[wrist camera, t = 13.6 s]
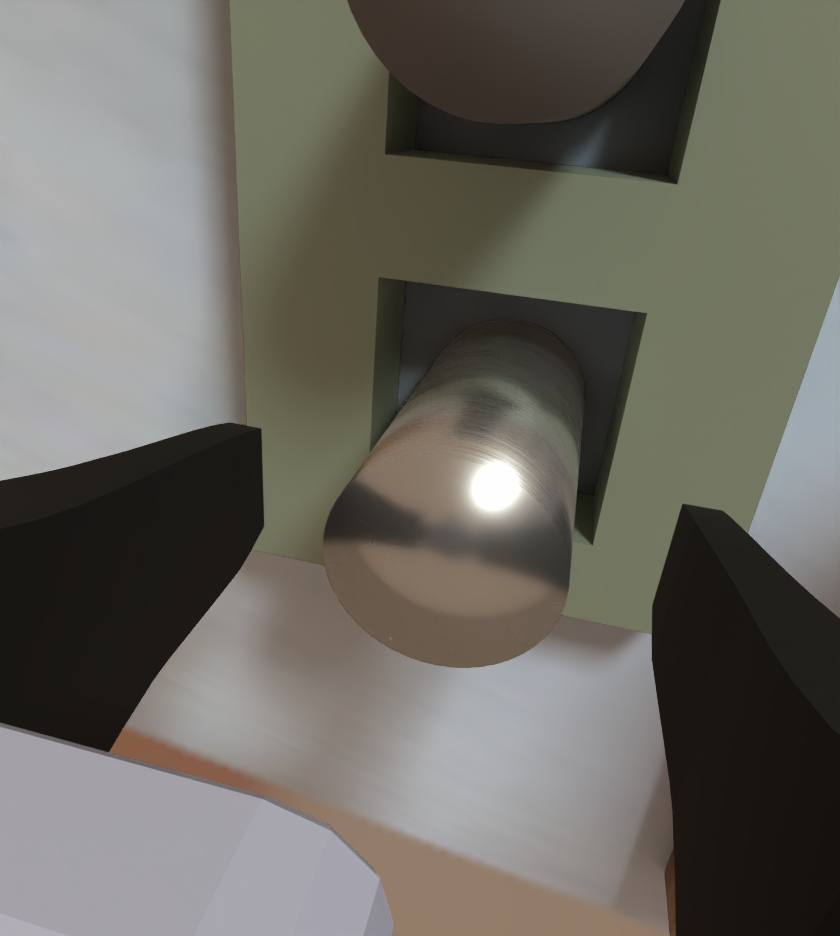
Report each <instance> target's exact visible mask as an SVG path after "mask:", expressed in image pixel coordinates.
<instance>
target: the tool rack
mask: <svg viewBox="0 0 840 936" xmlns="http://www.w3.org/2000/svg"><path fill="white" fill-rule="evenodd" d="M684 1H685V0H229V4H230V29H231V54H232V78H233V103H234V127H235V152H236V177H237V201H238V226H239V250H240V275H241V299H242V324H243V349H244V373H245V398H246V422H247V426H251V427H257V428H261V430H262V464H263V497H264V528H263V530H262V532H261V534H260V535H259V537H258V539H257V541H256V543H255V545H254V546H253V548H252V550H255V551H260V552H264V553H269V554H274V555H279V556H283V557H288V558H293V559H298V560H302V561H307V562H312V563H316V564H321V565H325V564H324V556H323V536H324V530H325V525H326V522H327V519H328V516H329V513H330V511H331V509H332V507H333V505H334V504H335V502H336V500H337V498H338V497H339V496H340V494H341V493H342V491H343V490H344V489H345V487H346V486H347V484H348V483H349V482H350V480H351V479H352V477H353V476H354V475H355V473H356V472H357V470H358V469H359V468H360V466H361V465H362V463H363V462H364V461H365V459H366V458H367V456H368V455H369V454H370V452H371V451H372V449H373V448H374V447H375V445H376V444H377V442H378V441H379V440H380V438H381V437H382V435H383V434H384V433H385V431H386V430H387V428H388V427H389V426H390V424H391V423H392V421H393V420H394V419H395V417H396V414H397V400H398V385H399V371H400V356H401V342H402V327H403V313H404V298H405V284H406V281H411V282H419V283H426V284H434V285H441V286H449V287H456V288H463V289H471V290H478V291H486V292H493V293H500V294H508V295H515V296H523V297H530V298H538V299H545V300H552V301H560V302H567V303H575V304H582V305H590V306H597V307H604V308H612V309H619V310H627V311H634V312H636V313H635V317H634V322H633V326H632V331H631V335H630V339H629V344H628V348H627V353H626V357H625V361H624V366H623V370H622V375H621V379H620V384H619V388H618V392H617V397H616V401H615V406H614V410H613V414H612V419H611V423H610V428H609V432H608V436H607V441H606V445H605V450H604V454H603V458H602V463H601V467H600V472H599V476H598V481H597V485H596V489H595V494H594V496H591V495H585V494H580V493H577V498H576V510H575V522H574V534H573V546H572V557H571V569H570V581H569V592H568V596H567V600H566V604H565V606H564V609H563V611H562V613H561V615H563V616H568V617H573V618H578V619H582V620H587V621H592V622H597V623H601V624H606V625H611V626H615V627H620V628H625V629H630V630H634V631H639V632H644V633H649V634H652V604H653V601H654V598H655V594H656V591H657V587H658V584H659V581H660V577H661V574H662V571H663V567H664V564H665V561H666V557H667V554H668V550H669V547H670V544H671V540H672V537H673V534H674V530H675V527H676V524H677V520H678V517H679V513H680V510H681V507H682V503H683V504H688V505H694V506H700V507H705V508H711V509H717V510H722V511H724V512H725V513H726V514H728V515H729V516H730V517H731V518H732V519H733V520H734V521H735V522H736V523H737V524H739V525H740V526H741V527H742V528H743V529H744V530H745V531H746V532H747V533H748V531H749V529H750V526H751V523H752V520H753V517H754V514H755V512H756V509H757V506H758V503H759V500H760V498H761V495H762V492H763V489H764V486H765V484H766V481H767V478H768V475H769V472H770V470H771V467H772V464H773V461H774V458H775V456H776V453H777V450H778V447H779V444H780V442H781V439H782V436H783V433H784V430H785V428H786V425H787V422H788V419H789V416H790V414H791V411H792V408H793V405H794V402H795V399H796V397H797V394H798V391H799V388H800V385H801V383H802V380H803V377H804V374H805V371H806V369H807V366H808V363H809V360H810V357H811V355H812V352H813V349H814V346H815V343H816V341H817V338H818V335H819V332H820V329H821V327H822V324H823V321H824V318H825V315H826V313H827V310H828V307H829V304H830V301H831V299H832V296H833V293H834V290H835V287H836V285H837V282H838V279H839V276H840V0H706V4H705V9H704V13H703V18H702V22H701V26H700V31H699V35H698V40H697V44H696V48H695V53H694V57H693V62H692V66H691V70H690V75H689V79H688V84H687V88H686V93H685V97H684V101H683V106H682V110H681V115H680V119H679V123H678V128H677V132H676V137H675V141H674V145H673V150H672V154H671V159H670V163H669V167H668V172H667V175H660V174H650V173H640V172H630V171H621V170H611V169H601V168H591V167H581V166H571V165H561V164H552V163H542V162H532V161H522V160H512V159H502V158H492V157H483V156H473V155H463V154H453V153H443V152H433V151H423V150H415V139H416V125H417V110H418V97H419V98H421V99H422V100H424V101H425V102H427V103H428V104H430V105H432V106H434V107H436V108H438V109H440V110H442V111H444V112H446V113H449V114H452V115H455V116H458V117H461V118H464V119H467V120H472V121H478V122H484V123H490V124H523V123H546V122H560V121H568V120H571V119H575V118H579V117H581V116H584V115H586V114H589V113H591V112H593V111H595V110H596V109H598V108H600V107H602V106H603V105H605V104H606V103H607V102H609V101H610V100H611V99H613V98H614V97H615V96H616V95H617V94H618V93H619V92H620V91H621V90H622V89H624V88H625V87H626V85H627V84H628V83H629V82H630V81H631V79H632V78H633V77H634V76H635V74H636V73H637V71H638V70H639V69H640V67H641V66H642V64H643V63H644V61H645V60H646V59H647V57H648V56H649V54H650V53H651V51H652V50H653V49H654V47H655V46H656V44H657V43H658V41H659V40H660V39H661V37H662V36H663V34H664V33H665V31H666V30H667V28H668V27H669V25H670V24H671V22H672V21H673V19H674V18H675V16H676V15H677V13H678V12H679V10H680V9H681V7H682V5H683V3H684Z"/></svg>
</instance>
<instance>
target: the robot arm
mask: <svg viewBox="0 0 840 936" xmlns="http://www.w3.org/2000/svg"><path fill="white" fill-rule="evenodd" d="M263 528H264V497H263V464H262V430H261V428H257V427H251V426H246V425H240V424H234V423H224V424H218V425H213V426H209V427H205V428H202V429H198V430H194V431H191V432H187V433H184V434H181V435H177V436H174V437H171V438H168V439H164V440H161V441H158V442H155V443H151V444H148V445H145V446H141V447H138V448H135V449H132V450H128V451H125V452H121V453H118V454H114V455H110V456H107V457H103V458H99V459H96V460H92V461H88V462H85V463H81V464H77V465H74V466H70V467H66V468H61V469H57V470H53V471H48V472H44V473H39V474H34V475H29V476H23V477H18V478H13V479H8V480H2V481H0V936H393V931H394V923H393V920H392V916H391V913H390V910H389V907H388V903H387V900H386V896H385V893H384V890H383V887H382V883H381V880H380V877H379V876H378V874H377V873H376V871H375V870H374V868H373V867H372V865H371V864H370V863H368V862H367V861H366V860H365V859H364V858H363V857H362V856H361V855H360V854H359V853H358V852H357V851H356V850H355V849H354V848H353V847H352V846H351V845H350V844H349V843H348V842H347V841H346V840H345V839H344V838H343V837H342V836H341V835H340V834H339V833H338V832H337V831H336V830H335V829H334V828H333V827H332V826H331V825H329V824H328V823H326V822H323V821H321V820H319V819H317V818H315V817H313V816H310V815H308V814H306V813H304V812H302V811H300V810H297V809H295V808H293V807H291V806H289V805H286V804H284V803H282V802H280V801H278V800H276V799H273V798H271V797H269V796H266V795H262V794H259V793H254V792H251V791H248V790H244V789H240V788H237V787H233V786H229V785H226V784H222V783H218V782H215V781H211V780H208V779H204V778H200V777H197V776H193V775H189V774H185V773H182V772H178V771H175V770H171V769H167V768H164V767H160V766H156V765H153V764H149V763H146V762H142V761H138V760H134V759H131V758H127V757H124V756H120V755H116V754H113V753H109V751H110V749H111V748H112V746H113V744H114V743H115V741H116V739H117V737H118V736H119V734H120V732H121V731H122V729H123V727H124V726H125V724H126V723H127V721H128V719H129V718H130V716H131V715H132V713H133V712H134V710H135V708H136V707H137V705H138V704H139V702H140V700H141V699H142V697H143V696H144V694H145V693H146V691H147V689H148V688H149V686H150V685H151V683H152V682H153V680H154V679H155V677H156V676H157V674H158V673H159V672H160V670H161V669H162V668H163V666H164V665H165V664H166V662H167V661H168V659H169V658H170V657H171V656H172V654H173V653H174V652H175V651H176V649H177V648H178V647H179V646H180V644H181V643H182V642H183V641H184V639H185V638H186V637H187V636H188V634H189V633H190V632H191V631H192V629H193V628H194V627H195V626H196V624H197V623H198V622H199V621H200V619H201V618H202V617H203V616H204V614H205V613H206V612H207V611H208V610H209V608H210V607H211V606H212V605H213V603H214V602H215V601H216V600H217V598H218V597H219V596H220V594H221V593H222V592H223V591H224V589H225V588H226V587H227V586H228V584H229V583H230V582H231V580H232V579H233V578H234V576H235V575H236V574H237V573H238V571H239V570H240V569H241V567H242V565H243V563H244V562H245V560H246V558H247V557H248V555H249V553H250V552H251V550H252V548H253V546H254V545H255V543H256V541H257V539H258V537H259V535H260V534H261V532H262V530H263ZM652 662H653V670H654V677H655V684H656V691H657V698H658V705H659V712H660V719H661V726H662V733H663V739H664V746H665V753H666V760H667V767H668V773H669V780H670V790H671V800H672V811H673V839H674V869H675V922H676V936H840V618H838V617H837V616H836V615H835V614H834V613H832V612H831V611H830V610H829V609H828V608H827V607H825V606H824V605H823V604H822V603H821V602H819V601H818V600H817V599H816V598H815V597H814V596H813V595H811V594H810V593H809V592H808V591H807V590H806V589H805V588H804V587H803V586H802V585H800V584H799V583H798V582H797V581H796V580H795V579H794V578H793V577H792V576H791V575H790V574H789V573H788V572H787V571H785V570H784V569H783V568H782V567H781V566H780V565H779V564H778V563H777V562H776V561H775V560H774V559H773V558H772V557H771V556H770V555H769V554H768V553H767V552H766V551H765V550H764V549H763V548H762V547H761V546H760V545H759V544H758V543H757V542H756V541H755V540H754V539H753V538H752V537H751V536H750V535H749V534H748V533H747V532H746V531H745V530H744V529H743V528H742V527H741V526H740V525H739V524H737V523H736V522H735V521H734V520H733V519H732V518H731V517H730V516H729V515H728V514H726V513H725V512H724V511H722V510H717V509H711V508H705V507H700V506H694V505H688V504H683V503H682V507H681V510H680V513H679V517H678V520H677V524H676V527H675V530H674V534H673V537H672V540H671V544H670V547H669V550H668V554H667V557H666V561H665V564H664V567H663V571H662V574H661V577H660V581H659V584H658V587H657V591H656V594H655V598H654V601H653V604H652Z"/></svg>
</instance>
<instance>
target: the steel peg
mask: <svg viewBox="0 0 840 936" xmlns="http://www.w3.org/2000/svg"><path fill="white" fill-rule="evenodd" d="M584 402H585V387H584V381H583V376H582V373H581V370H580V368H579V365H578V363H577V361H576V359H575V358H574V356H573V355H572V353H571V352H570V350H569V349H568V348H567V347H566V346H565V345H564V344H563V343H562V341H561V340H559V339H558V338H557V337H556V336H554V335H553V334H552V333H550V332H548V331H547V330H545V329H543V328H541V327H539V326H537V325H534V324H531V323H528V322H524V321H519V320H511V319H500V320H491V321H487V322H483V323H480V324H477V325H475V326H472V327H470V328H468V329H467V330H465V331H463V332H462V333H460V334H459V335H458V336H456V337H455V338H454V339H453V340H452V341H451V342H450V343H449V344H448V345H447V346H446V348H445V349H444V350H443V351H442V353H441V354H440V356H439V357H438V358H437V360H436V361H435V363H434V364H433V365H432V367H431V368H430V370H429V371H428V372H427V374H426V375H425V377H424V378H423V379H422V381H421V382H420V384H419V385H418V386H417V388H416V389H415V391H414V392H413V393H412V395H411V396H410V398H409V399H408V400H407V402H406V403H405V405H404V406H403V407H402V409H401V410H400V412H399V413H398V414H397V416H396V417H395V419H394V420H393V421H392V423H391V424H390V426H389V427H388V428H387V430H386V431H385V433H384V434H383V435H382V437H381V438H380V440H379V441H378V442H377V444H376V445H375V447H374V448H373V449H372V451H371V452H370V454H369V455H368V456H367V458H366V459H365V461H364V462H363V463H362V465H361V466H360V468H359V469H358V470H357V472H356V473H355V475H354V476H353V477H352V479H351V480H350V482H349V483H348V484H347V486H346V487H345V489H344V490H343V491H342V493H341V494H340V496H339V497H338V498H337V500H336V502H335V504H334V505H333V507H332V509H331V511H330V513H329V516H328V519H327V522H326V525H325V530H324V536H323V556H324V564H325V568H326V572H327V576H328V578H329V581H330V583H331V586H332V588H333V590H334V592H335V594H336V596H337V597H338V599H339V601H340V603H341V604H342V605H343V607H344V608H345V610H346V611H347V612H348V614H349V615H350V616H351V617H352V618H353V619H354V620H355V621H356V622H357V624H358V625H360V626H361V627H362V628H363V629H364V630H365V631H366V632H367V633H368V634H370V635H371V636H373V637H374V638H375V639H377V640H378V641H379V642H381V643H382V644H384V645H386V646H388V647H389V648H391V649H393V650H395V651H397V652H399V653H401V654H403V655H405V656H407V657H410V658H413V659H416V660H419V661H422V662H426V663H430V664H434V665H439V666H446V667H459V668H470V667H483V666H488V665H494V664H498V663H501V662H504V661H507V660H510V659H512V658H514V657H517V656H519V655H521V654H523V653H525V652H526V651H528V650H529V649H531V648H533V647H534V646H535V645H536V644H538V643H539V642H540V641H541V640H542V639H544V638H545V636H546V635H547V634H548V633H549V632H550V631H551V630H552V628H553V627H554V625H555V624H556V622H557V621H558V619H559V618H560V616H561V613H562V611H563V609H564V606H565V604H566V600H567V596H568V592H569V581H570V569H571V557H572V546H573V534H574V522H575V510H576V498H577V486H578V474H579V462H580V450H581V438H582V426H583V414H584Z"/></svg>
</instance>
